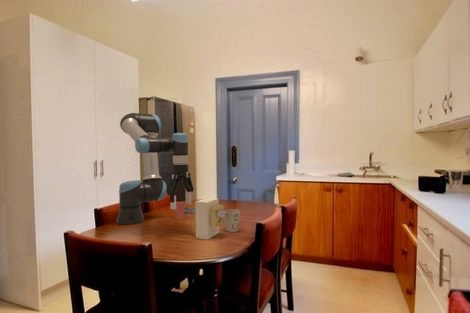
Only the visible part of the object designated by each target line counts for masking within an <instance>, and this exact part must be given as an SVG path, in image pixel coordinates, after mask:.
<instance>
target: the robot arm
mask: <svg viewBox="0 0 470 313" xmlns="http://www.w3.org/2000/svg"><path fill="white" fill-rule="evenodd" d="M119 127H120V129H121V131H123V133H125V134H126V135H128V136H129V137H130V138H131V139H132V140H133V142H134V147H135V148H134V149H135V152H136V153H140V154H142V158H143V169H144V170H143V171H144V172H143V173H144V176H143V178H142V181H141V180H137V179H136V180H129V181H124V182H122V183H120V184H119V189H118V193H119V194H118V195H119V198H118V199H119V202H118V203H119V210H118V213H117V217H116V224H118V225H134V224H135V225H136V224H140V223H143V222H145V215H144V214H143V210H142V203H147V202H157V201H161V200H164V198H165V196H166V194H167V196H169V203H170V210H176V202H177V195H176V193H177V190H178V188H179V186H180V185H181V184H182V185H183V186H184V189H185V190H186V192H185V202H186V206H190V205H192V193H193V192H194V190H195V188H194V186H193V181H192V178H191V173H190V172H189V139H188V134H187V133H185V132H175V133H173V134H172V138H171V137H170V138H169V137H168V138H167V137H165V138H163V137H158V136H159V133H161V130H162V122H161V120H160V117H159V116H158V115H156V114H154V113H153V114H151V113H138V112H132V113H131V112H130V113H127V114H125V115H124V116H123V117H122V118H121V120H120V121H119ZM158 153H159V154H161V153H162V154H163V153H164V154H165V153H166V154H172V164H173V165H172V172H173V173H174V174H170V180H169V184H168V187H167V183H166V182H165V181H164V180H163V177H162V176H161V175H160V167H159V157H158Z"/></svg>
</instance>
